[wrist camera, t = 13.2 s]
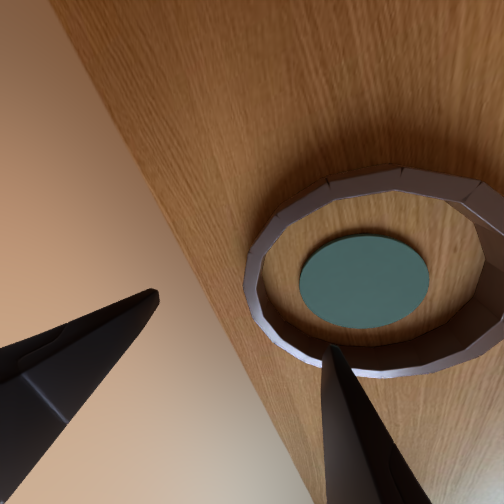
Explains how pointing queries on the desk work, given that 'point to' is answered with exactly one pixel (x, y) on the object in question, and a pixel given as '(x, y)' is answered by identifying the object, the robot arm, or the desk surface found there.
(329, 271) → the pad
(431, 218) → the desk surface
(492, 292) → the hoop
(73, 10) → the desk surface
